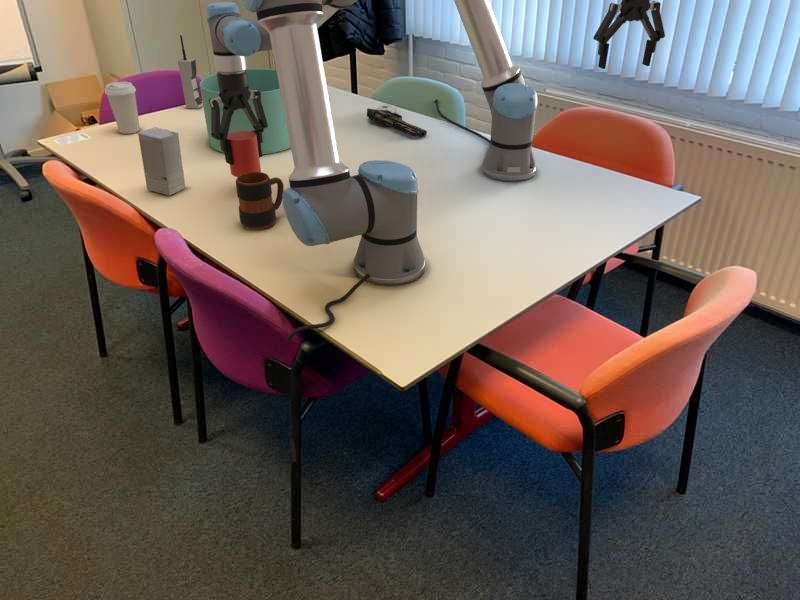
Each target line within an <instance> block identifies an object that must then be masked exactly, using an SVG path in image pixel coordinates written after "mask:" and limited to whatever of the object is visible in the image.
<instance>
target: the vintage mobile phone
mask: <svg viewBox="0 0 800 600" xmlns="http://www.w3.org/2000/svg"><path fill="white" fill-rule="evenodd" d="M179 39H180V44H181V51H182V57H183V58H181V59H180V60H178V61H177V65H178V70H179V75H180V81H181V86H182V93H183V97H184V103H185V108H187V109H194V110H195V109H197V110H198V109H201V108H202V107H203V102H202V98H201V97H200V91H199V87H198V80H197V73H198V72H197V71H198V70H197V59H195V58H187V55H186V51H185V47H184V40H183V36H182V35H181V34H180V35H179Z"/></svg>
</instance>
